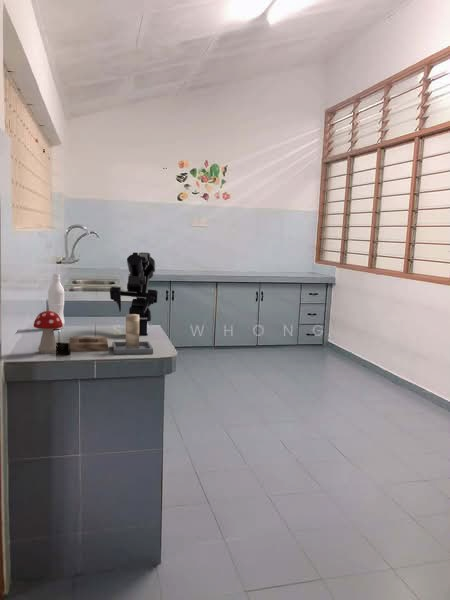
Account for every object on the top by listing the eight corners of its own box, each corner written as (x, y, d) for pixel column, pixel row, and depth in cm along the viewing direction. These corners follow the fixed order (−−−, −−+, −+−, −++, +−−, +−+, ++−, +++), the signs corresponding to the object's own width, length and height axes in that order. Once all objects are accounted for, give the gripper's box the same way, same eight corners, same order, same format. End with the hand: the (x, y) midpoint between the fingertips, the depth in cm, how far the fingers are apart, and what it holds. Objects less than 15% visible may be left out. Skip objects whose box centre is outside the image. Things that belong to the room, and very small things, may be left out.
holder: (106, 343, 200) (106, 337, 199) (107, 350, 186) (107, 344, 186) (69, 343, 196) (69, 337, 196) (68, 351, 183) (68, 344, 182)
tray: (148, 346, 197) (148, 341, 197) (153, 353, 184) (153, 348, 184) (112, 346, 194) (112, 341, 193) (114, 354, 180) (114, 349, 180)
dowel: (133, 347, 192) (134, 313, 191) (141, 349, 189) (142, 315, 187) (122, 348, 189) (123, 314, 187) (130, 351, 185) (131, 316, 184)
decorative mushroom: (64, 349, 185) (64, 309, 183) (60, 354, 176) (60, 312, 175) (36, 349, 183) (36, 309, 182) (30, 354, 175) (30, 312, 173)
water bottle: (67, 328, 228) (68, 274, 226) (56, 330, 222) (56, 274, 219) (55, 327, 231) (56, 273, 229) (44, 329, 225) (44, 273, 222)
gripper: (111, 266, 197) (106, 298, 188) (159, 270, 199) (156, 301, 190) (113, 283, 206) (108, 314, 197) (158, 287, 208) (155, 318, 199)
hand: (131, 311), depth 196 cm, fingers open, 9 cm apart
